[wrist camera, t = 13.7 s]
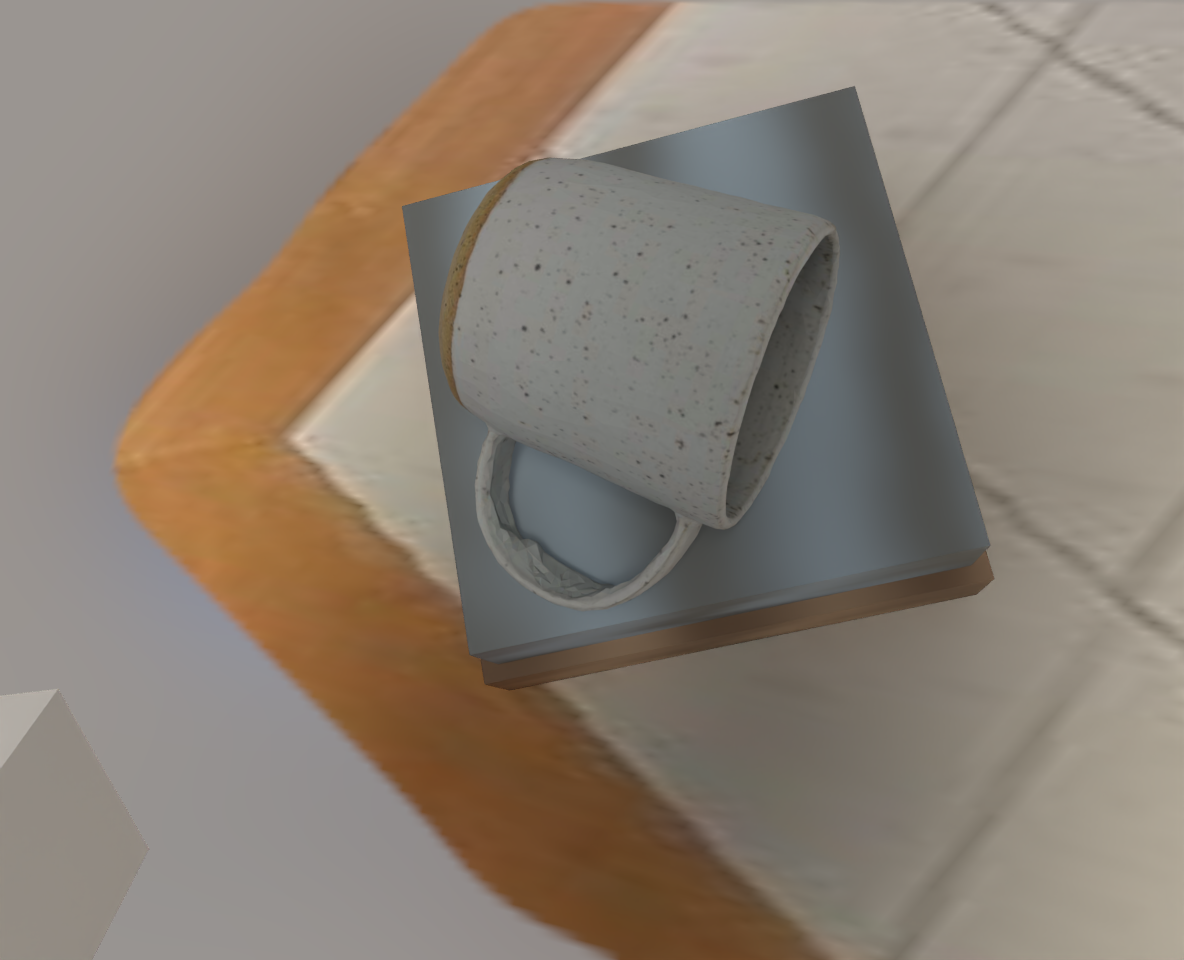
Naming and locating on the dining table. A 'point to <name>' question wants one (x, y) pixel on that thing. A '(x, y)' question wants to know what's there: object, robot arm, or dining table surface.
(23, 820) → the robot arm
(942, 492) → the grey and brown block
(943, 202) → the dining table surface
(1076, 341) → the dining table surface
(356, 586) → the dining table surface
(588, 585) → the ceramic mug
